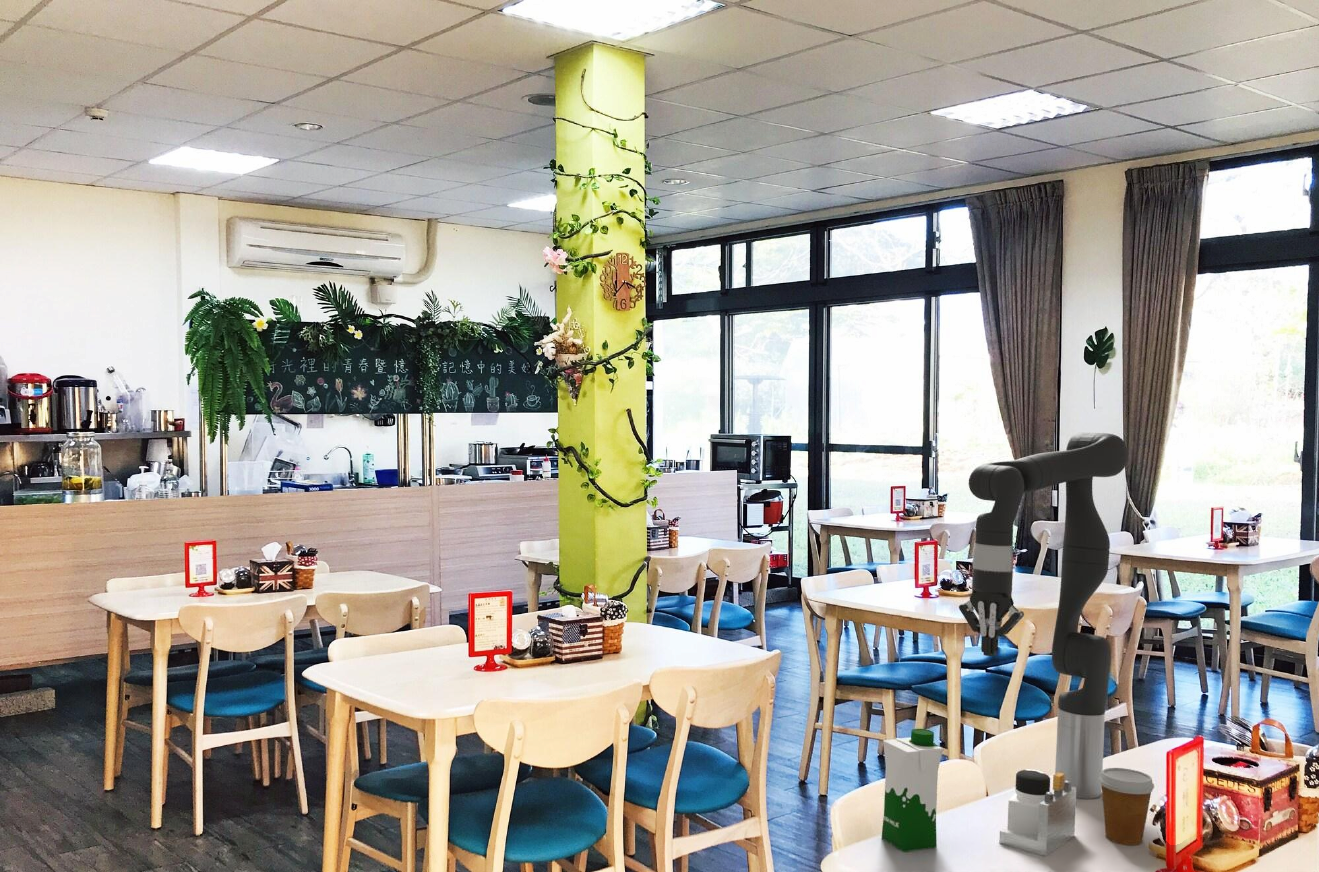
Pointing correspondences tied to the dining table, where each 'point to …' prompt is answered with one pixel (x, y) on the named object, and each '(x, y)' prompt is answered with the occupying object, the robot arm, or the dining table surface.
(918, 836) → the milk carton
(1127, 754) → the dining table surface
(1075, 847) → the dining table surface
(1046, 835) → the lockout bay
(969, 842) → the dining table surface
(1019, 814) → the medicine bottle
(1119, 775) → the disposable coffee cup
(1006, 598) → the robot arm
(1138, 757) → the dining table surface
